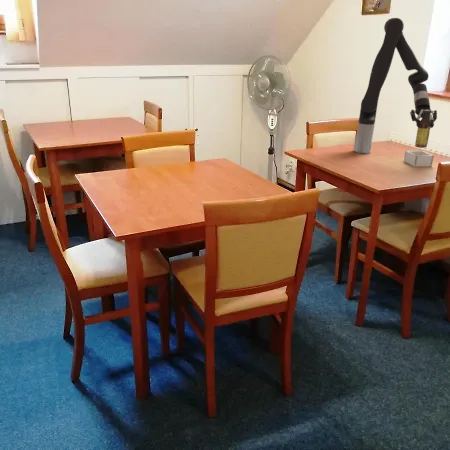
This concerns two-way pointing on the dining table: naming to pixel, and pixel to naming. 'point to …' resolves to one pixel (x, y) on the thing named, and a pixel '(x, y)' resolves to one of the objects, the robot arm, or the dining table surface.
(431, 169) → the dining table surface
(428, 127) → the sauce bottle
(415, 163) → the bottle holder
